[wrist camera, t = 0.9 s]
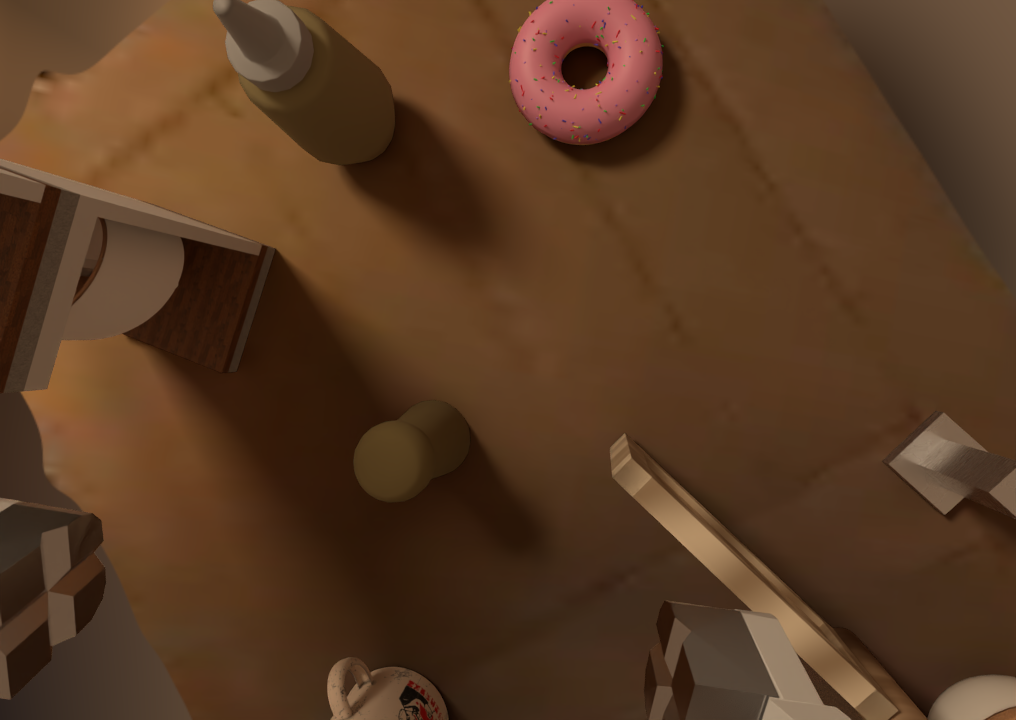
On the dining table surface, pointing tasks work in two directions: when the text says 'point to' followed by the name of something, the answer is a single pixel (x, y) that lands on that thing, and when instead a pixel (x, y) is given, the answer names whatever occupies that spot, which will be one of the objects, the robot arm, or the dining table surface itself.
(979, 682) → the lidded jar
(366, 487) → the cork
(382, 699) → the teacup with lid
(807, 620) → the wooden panel
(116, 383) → the dining table surface
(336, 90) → the squeeze bottle
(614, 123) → the doughnut
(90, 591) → the robot arm
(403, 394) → the dining table surface
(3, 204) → the tiered white shelf
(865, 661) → the hinge post
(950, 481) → the stop post
